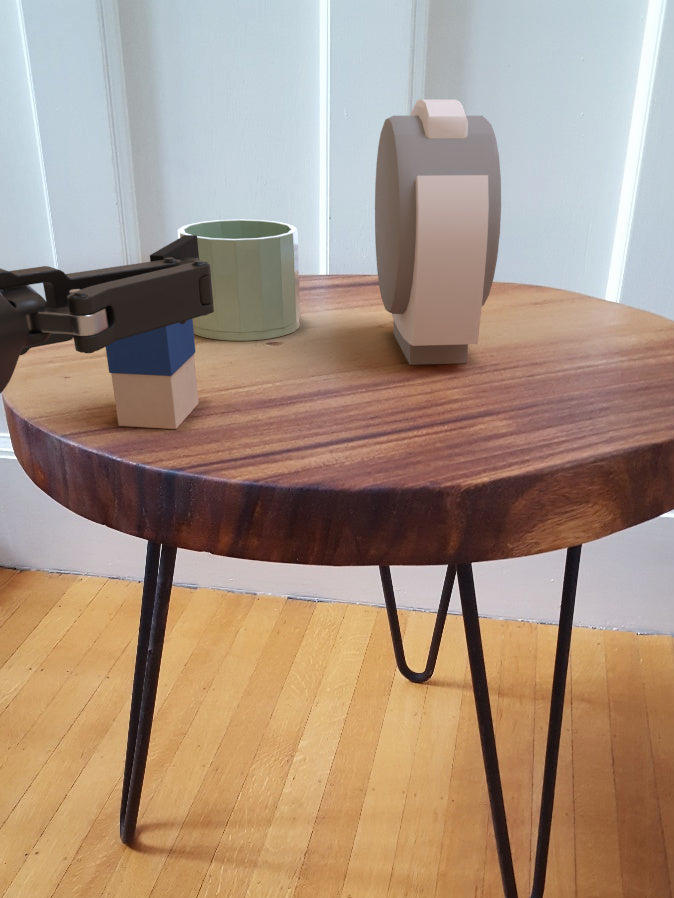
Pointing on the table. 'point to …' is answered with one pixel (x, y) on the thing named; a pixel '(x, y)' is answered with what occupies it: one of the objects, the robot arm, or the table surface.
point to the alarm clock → (437, 227)
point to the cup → (249, 278)
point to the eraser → (154, 377)
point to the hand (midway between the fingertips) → (85, 255)
